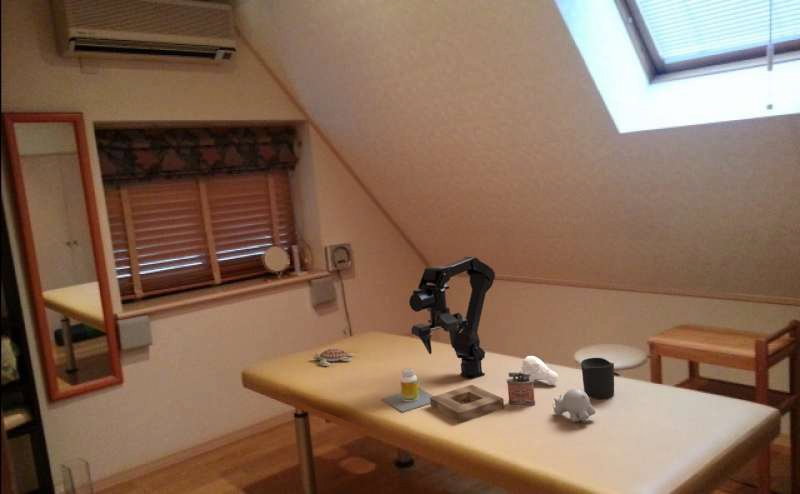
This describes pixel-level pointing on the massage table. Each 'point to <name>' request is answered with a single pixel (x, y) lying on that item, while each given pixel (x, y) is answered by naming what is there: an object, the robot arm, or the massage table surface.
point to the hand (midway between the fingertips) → (441, 350)
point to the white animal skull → (538, 370)
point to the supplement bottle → (409, 385)
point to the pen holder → (598, 377)
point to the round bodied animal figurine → (574, 405)
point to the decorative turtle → (332, 356)
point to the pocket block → (477, 407)
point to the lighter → (520, 389)
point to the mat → (405, 406)
